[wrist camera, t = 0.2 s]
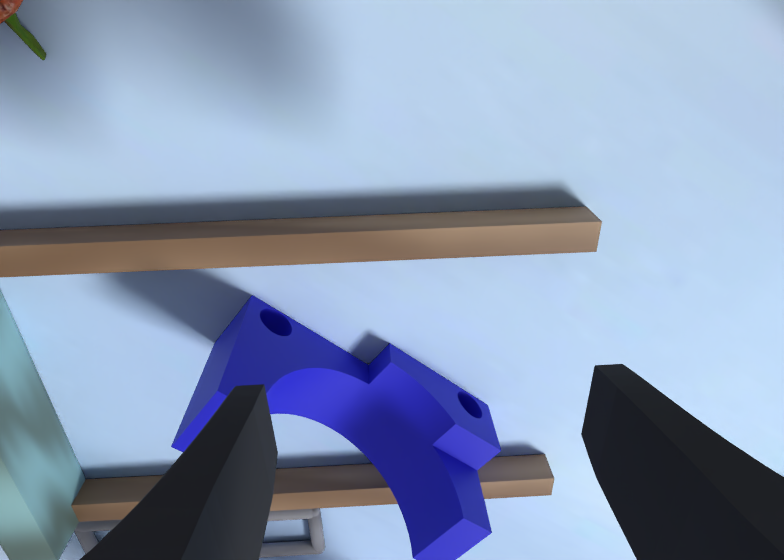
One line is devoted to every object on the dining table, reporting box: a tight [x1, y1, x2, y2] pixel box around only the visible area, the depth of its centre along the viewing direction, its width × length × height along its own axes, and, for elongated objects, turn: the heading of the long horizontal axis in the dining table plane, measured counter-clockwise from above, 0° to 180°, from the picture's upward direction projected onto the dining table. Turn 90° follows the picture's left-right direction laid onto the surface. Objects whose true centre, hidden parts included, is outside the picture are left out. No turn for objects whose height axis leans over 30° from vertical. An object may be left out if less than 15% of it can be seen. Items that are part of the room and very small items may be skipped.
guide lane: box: [0, 206, 602, 560], centre depth 22 cm, size 15×25×4 cm, turn 91°
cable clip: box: [171, 295, 501, 560], centre depth 21 cm, size 12×4×6 cm, turn 51°
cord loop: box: [74, 508, 325, 558], centre depth 28 cm, size 4×13×1 cm, turn 91°
